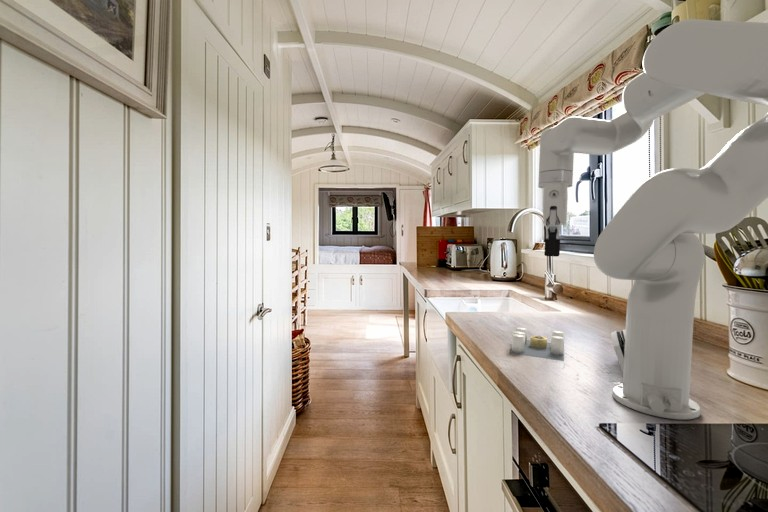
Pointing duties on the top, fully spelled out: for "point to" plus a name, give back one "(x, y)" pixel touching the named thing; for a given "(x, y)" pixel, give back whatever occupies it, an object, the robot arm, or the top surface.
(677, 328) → the robot arm
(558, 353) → the spacers
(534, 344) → the nut
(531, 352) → the mat
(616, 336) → the hinge
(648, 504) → the top surface
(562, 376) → the top surface
